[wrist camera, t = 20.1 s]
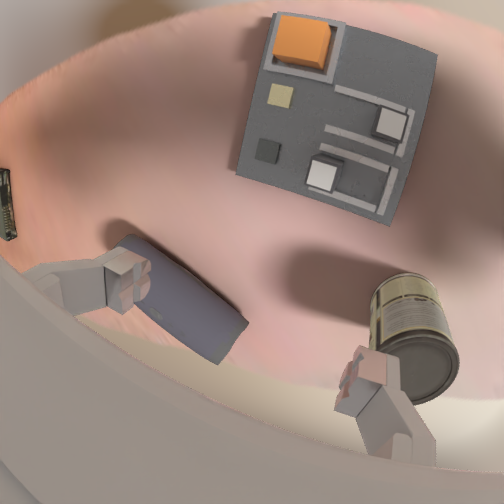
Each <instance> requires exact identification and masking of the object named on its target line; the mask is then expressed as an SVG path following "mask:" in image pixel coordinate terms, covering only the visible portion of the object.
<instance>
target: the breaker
mask: <svg viewBox="0 0 504 504" xmlns="http://www.w3.org/2000/svg"><path fill="white" fill-rule="evenodd" d="M343 164H344V161H342V160H339V159H336V158H333V157H330V156H327V155H323V154H320V153H319V154H316V155H313V156H311V159H310V163H309V166H308V170H307V174H306V177H305V181H304V185H306V186H309V187H312V188H315V189H318V190H321V191H324V192H327V193H330V194H333V192H334V190H335V189H336V187H337V185H338V181H339V178H340V175H341V171H342V168H343Z"/></svg>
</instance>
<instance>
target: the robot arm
mask: <svg viewBox="0 0 504 504" xmlns="http://www.w3.org/2000/svg"><path fill="white" fill-rule="evenodd" d="M150 271H151V262H150V261H149V260H148V259H146V258H144V257H142V256H140V255H138V254H136V253H134V252H132V251H129V250H127V249H125V248H123V247H116V248H114V249H112V250H111V251H109V252H107V253H105V254H103V255H101V256H99V257H97V258H95V259H94V260H91V259H82V260H72V261H61V262H50V263H40V264H38V265H37V266H35V267H33V268H31V269H29V270H27V271H25V272H23V273H22V274H21V273H20V272H18V271H17V270H16V269H15V268H14V267H13V266H12V265H11V264H10V263H9V262H8V261H6V260H5V259H4V258H3V257H2V256H1V255H0V504H504V472H482V471H467V470H455V469H445V468H437V467H436V440H435V438H434V437H433V435H432V434H431V432H430V431H429V429H428V428H427V426H426V424H425V423H424V421H423V420H422V418H421V417H420V415H419V414H418V412H417V411H416V409H415V407H414V406H413V404H412V403H411V401H410V400H409V398H408V397H407V395H406V394H405V392H404V391H401V390H400V362H399V358H398V357H396V356H392V355H389V354H384V353H381V352H378V351H375V350H372V349H369V348H366V347H363V346H360V345H359V346H358V348H357V349H356V351H355V352H354V356H353V361H351V362H349V363H348V364H347V366H346V368H345V370H344V372H343V374H342V377H341V380H340V384H339V388H340V390H341V391H340V392H339V394H338V395H337V398H336V403H335V408H334V411H337V412H340V413H343V414H346V415H349V416H352V417H355V418H356V422H357V424H358V427H359V430H360V433H361V435H362V438H363V441H364V444H365V446H366V449H367V452H368V454H363V453H359V452H356V451H352V450H348V449H344V448H341V447H337V446H334V445H331V444H327V443H324V442H321V441H317V440H314V439H311V438H308V437H305V436H302V435H299V434H296V433H293V432H291V431H288V430H285V429H282V428H280V427H277V426H274V425H272V424H269V423H266V422H264V421H261V420H259V419H257V418H254V417H252V416H249V415H247V414H245V413H242V412H240V411H238V410H235V409H233V408H231V407H229V406H227V405H224V404H222V403H220V402H218V401H216V400H213V399H211V398H209V397H207V396H205V395H203V394H201V393H199V392H197V391H195V390H193V389H191V388H189V387H187V386H185V385H183V384H181V383H180V382H177V381H176V380H174V379H172V378H170V377H168V376H167V375H165V374H163V373H161V372H159V371H158V370H156V369H154V368H152V367H151V366H149V365H147V364H145V363H143V362H142V361H140V360H139V359H137V358H135V357H134V356H132V355H131V354H129V353H127V352H126V351H124V350H122V349H121V348H119V347H118V346H116V345H115V344H113V343H112V342H110V341H108V340H107V339H105V338H104V337H102V336H101V335H100V334H98V333H97V332H95V331H94V330H92V329H91V328H89V327H88V326H87V325H85V324H84V323H82V322H81V321H79V320H78V319H77V318H75V317H74V316H75V315H79V314H82V313H86V312H90V311H93V310H97V309H101V308H104V307H106V306H108V307H109V308H111V309H113V310H115V311H116V312H118V313H120V314H122V315H123V314H124V313H126V312H127V311H128V310H129V309H131V308H132V307H133V305H134V302H137V301H141V300H142V299H143V298H145V296H146V295H147V293H148V292H149V288H150V281H151V280H150V278H149V276H148V273H149V272H150Z"/></svg>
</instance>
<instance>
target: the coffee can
mask: <svg viewBox="0 0 504 504" xmlns="http://www.w3.org/2000/svg"><path fill="white" fill-rule="evenodd" d="M370 312H371V316H370V338H369V349H372V350H375V351H378V352H381V353H384V354H389V355H392V356H396V357H398V358H399V362H400V390H401V391H404V392H405V394H406V395H407V397H408V398H409V400H410V401H411V403H412V404H413V406H414V405H419V404H422V403H425V402H428V401H430V400H432V399H434V398H436V397H438V396H439V395H441V394H442V393H443V392H444V391H445V390H447V389H448V388H449V387H450V385H451V384H452V383H453V381H454V380H455V378H456V376H457V373H458V370H459V364H460V362H459V355H458V352H457V349H456V347H455V345H454V342H453V339H452V335H451V332H450V329H449V326H448V323H447V320H446V317H445V314H444V311H443V308H442V305H441V302H440V300H439V297H438V293H437V290H436V288H435V286H434V285H433V284H432V283H431V282H430V281H429V280H428V279H427V278H425V277H423V276H421V275H419V274H414V273H402V274H398V275H395V276H392V277H390V278H388V279H387V280H385V281H384V282H383V283H381V284H380V285H379V287H378V288H377V289H376V290H375V292H374V294H373V296H372V299H371V304H370Z"/></svg>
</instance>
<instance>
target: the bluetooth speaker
mask: <svg viewBox="0 0 504 504" xmlns="http://www.w3.org/2000/svg"><path fill="white" fill-rule="evenodd" d="M116 247H123V248H125V249H127V250H129V251H132V252H134V253H136V254H138V255H140V256H142V257H144V258H146V259H148V260H149V261H150V262H151V271H150V272H149V273H148V276H149V278H150V280H151V281H150V288H149V292H148V293H147V295H146V296H145V298H143V299H142V300H141V301H137V302H134V304H135V305H136V306H137V307H138V308H139V309H141V310H142V311H143V312H144V313H145V314H146V315H147V316H149V317H150V318H151V319H152V320H153V321H155V322H156V323H157V324H158V325H159V326H161V327H162V328H163V329H165V330H166V331H167V332H168V333H170V334H171V335H172V336H174V337H175V338H176V339H178V340H179V341H180V342H182V343H183V344H185V345H186V346H187V347H189V348H190V349H192V350H193V351H195V352H196V353H197V354H199V355H200V356H202V357H204V358H205V359H207V360H209V361H210V362H212V363H214V364H216V365H218V364H219V363H220V362H221V361H222V360H223V359H224V357H225V356H226V355H227V354H228V352H229V351H230V349H231V348H232V346H233V344H234V342H235V341H236V339H237V338H238V337H239V335H240V334H241V333H242V332H243V331H244V330H245V329H246V327H247V326H248V324H249V322H248V321H247V320H246V319H245V318H244V317H243V316H242V315H241V314H240V313H239V312H237V311H236V310H235V309H234V308H233V307H231V306H230V305H229V304H228V303H226V302H225V301H224V300H223V299H221V298H220V297H219V296H218V295H217V294H215V293H214V292H213V291H212V290H210V289H209V288H208V287H207V286H206V285H204V283H203V282H201V281H200V280H199V279H198V278H196V277H195V276H194V275H193V274H191V273H190V272H189V271H187V270H186V269H185V268H183V267H182V266H180V265H178V264H177V263H175V262H174V261H173V260H171V259H170V258H168V257H167V256H166V255H164V254H163V253H162V252H160V251H159V250H157V249H156V248H155V247H153V246H152V245H150V244H149V243H148V242H146V241H145V240H143V239H141V238H140V237H138V236H137V235H135V234H130V235H127V236H126V237H125V238H124V239H122V240H121V241H120V242H119V243H118V244H117V245H116V246H115V247H114V248H116ZM114 248H113V249H114Z"/></svg>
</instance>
